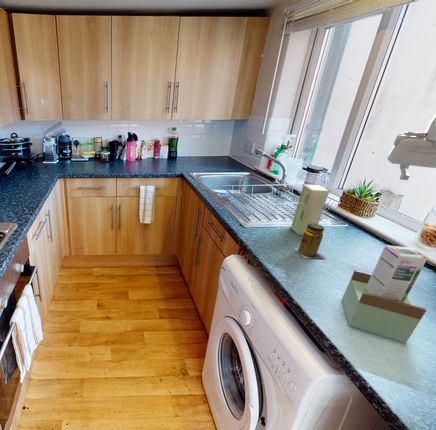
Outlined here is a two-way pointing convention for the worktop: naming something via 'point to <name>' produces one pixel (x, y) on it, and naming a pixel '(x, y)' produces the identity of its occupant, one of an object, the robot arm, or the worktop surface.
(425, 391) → the worktop surface
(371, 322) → the open green tray
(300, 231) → the toy refrigerator
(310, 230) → the condiment
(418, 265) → the syrup box
